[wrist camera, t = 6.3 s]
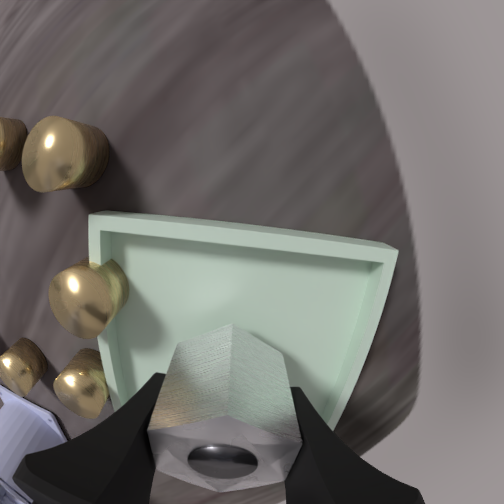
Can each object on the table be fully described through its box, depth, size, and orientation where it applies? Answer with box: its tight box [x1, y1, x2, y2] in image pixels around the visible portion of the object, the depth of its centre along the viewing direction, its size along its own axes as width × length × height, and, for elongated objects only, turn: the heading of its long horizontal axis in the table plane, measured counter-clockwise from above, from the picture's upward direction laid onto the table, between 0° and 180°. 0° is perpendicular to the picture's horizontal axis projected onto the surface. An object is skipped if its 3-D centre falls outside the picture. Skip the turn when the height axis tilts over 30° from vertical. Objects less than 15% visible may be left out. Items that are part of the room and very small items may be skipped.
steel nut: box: [147, 323, 302, 492], centre depth 9 cm, size 5×4×5 cm
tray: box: [89, 210, 398, 431], centre depth 13 cm, size 13×13×2 cm
